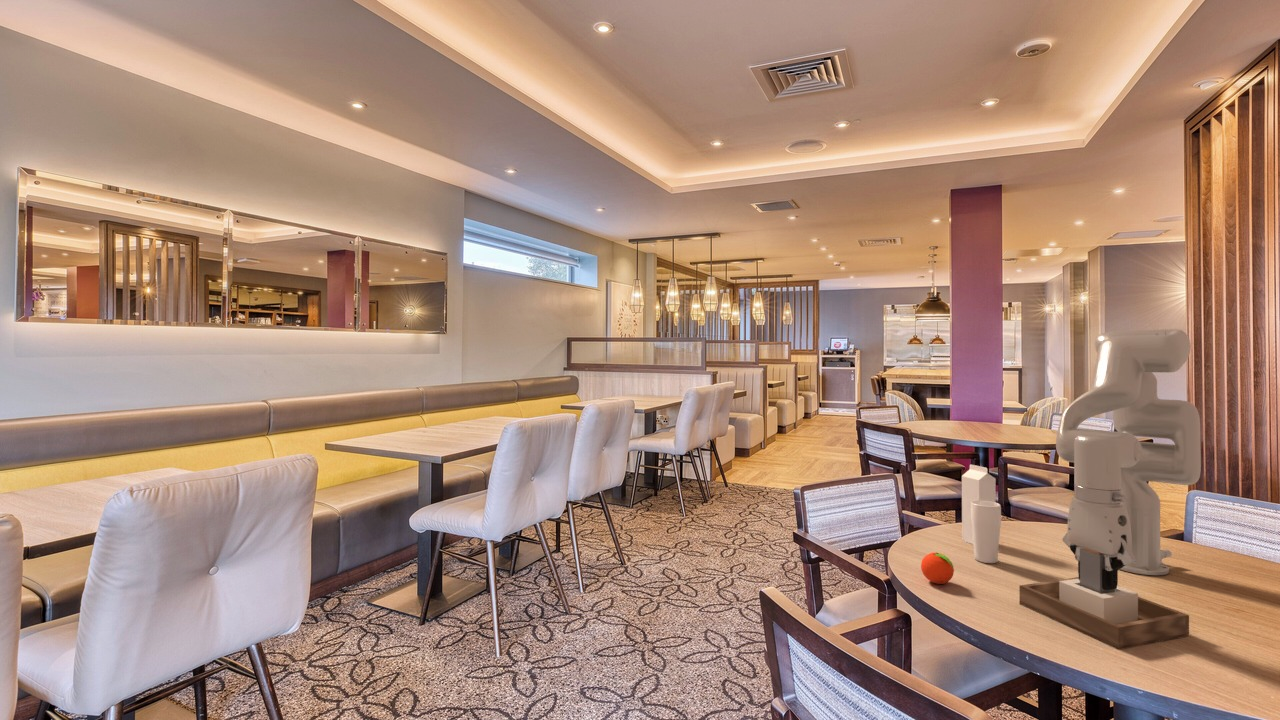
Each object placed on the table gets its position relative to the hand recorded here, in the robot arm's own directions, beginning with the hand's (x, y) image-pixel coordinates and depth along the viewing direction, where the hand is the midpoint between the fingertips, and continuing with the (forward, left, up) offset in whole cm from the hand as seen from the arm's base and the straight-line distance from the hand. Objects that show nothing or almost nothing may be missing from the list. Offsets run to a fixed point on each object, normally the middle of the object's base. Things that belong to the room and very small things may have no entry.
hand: (1097, 583), depth 117 cm
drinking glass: (-5, -32, -7) cm, 33 cm away
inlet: (0, 0, -7) cm, 7 cm away
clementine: (+18, -23, -7) cm, 30 cm away
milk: (-15, -44, -7) cm, 47 cm away
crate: (+1, +1, -7) cm, 7 cm away
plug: (0, 0, -3) cm, 3 cm away
